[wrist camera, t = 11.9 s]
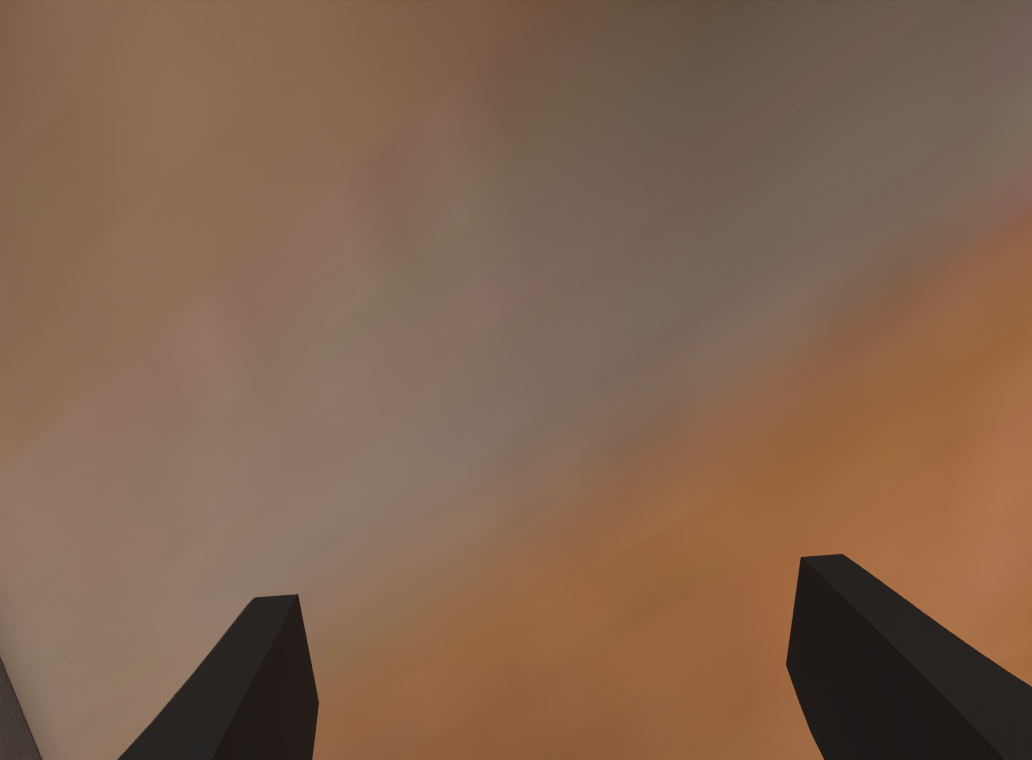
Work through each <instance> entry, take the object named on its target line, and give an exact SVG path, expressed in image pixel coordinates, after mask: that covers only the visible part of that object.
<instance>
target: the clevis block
mask: <svg viewBox="0 0 1032 760" xmlns="http://www.w3.org/2000/svg"><path fill="white" fill-rule="evenodd" d="M0 760H41V757H40V755H39V753H38V750H37V748H36V745H35V743H34V740H33V738H32V735H31V733H30V731H29V728H28V726H27V723H26V721H25V718H24V716H23V713H22V711H21V708H20V706H19V704H18V701H17V699H16V696H15V694H14V691H13V689H12V686H11V684H10V681H9V679H8V677H7V674H6V672H5V669H4V667H3V664H2V662H1V659H0Z"/></svg>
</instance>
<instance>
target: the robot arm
mask: <svg viewBox="0 0 1032 760" xmlns="http://www.w3.org/2000/svg"><path fill="white" fill-rule="evenodd" d="M786 666H787V669H788V672H789V675H790V677H791V680H792V683H793V686H794V689H795V692H796V694H797V697H798V700H799V703H800V705H801V708H802V711H803V713H804V716H805V718H806V721H807V724H808V726H809V729H810V732H811V734H812V736H813V738H814V740H815V742H816V744H817V746H818V748H819V750H820V752H821V754H822V756H823V758H824V760H1032V687H1031V686H1030V685H1028V684H1027V683H1025V682H1024V681H1022V680H1020V679H1019V678H1017V677H1016V676H1014V675H1013V674H1011V673H1009V672H1008V671H1006V670H1005V669H1003V668H1002V667H1001V666H999V665H998V664H996V663H995V662H993V661H992V660H990V659H989V658H987V657H986V656H984V655H983V654H981V653H980V652H978V651H977V650H975V649H974V648H973V647H971V646H970V645H968V644H967V643H965V642H964V641H963V640H961V639H960V638H958V637H957V636H955V635H954V634H953V633H951V632H950V631H948V630H947V629H946V628H944V627H943V626H941V625H940V624H939V623H937V622H936V621H935V620H933V619H932V618H930V617H929V616H928V615H926V614H925V613H923V612H922V611H921V610H919V609H918V608H917V607H915V606H914V605H913V604H911V603H910V602H908V601H907V600H906V599H904V598H903V597H902V596H900V595H899V594H898V593H896V592H895V591H893V590H892V589H891V588H889V587H888V586H887V585H885V584H884V583H883V582H881V581H880V580H879V579H877V578H876V577H874V576H873V575H872V574H870V573H869V572H868V571H866V570H865V569H863V568H862V567H861V566H859V565H858V564H856V563H855V562H853V561H852V560H851V559H849V558H848V557H846V556H845V555H843V554H835V555H822V556H808V557H801V560H800V567H799V575H798V582H797V589H796V596H795V604H794V611H793V618H792V625H791V633H790V640H789V647H788V654H787V662H786ZM318 706H319V700H318V695H317V690H316V685H315V680H314V674H313V669H312V664H311V659H310V654H309V648H308V643H307V638H306V633H305V628H304V622H303V617H302V612H301V607H300V602H299V596H298V594H296V595H282V596H269V597H255V598H254V599H253V600H252V601H251V602H250V603H249V604H248V605H247V606H246V607H245V609H244V610H243V611H242V612H241V614H240V615H239V616H238V617H237V619H236V620H235V621H234V623H233V624H232V625H231V626H230V628H229V629H228V630H227V631H226V633H225V634H224V635H223V637H222V638H221V639H220V640H219V642H218V643H217V644H216V645H215V647H214V648H213V649H212V650H211V652H210V653H209V654H208V655H207V657H206V658H205V659H204V660H203V662H202V663H201V664H200V665H199V667H198V668H197V669H196V670H195V672H194V673H193V674H192V675H191V676H190V678H189V679H188V680H187V681H186V682H185V683H184V685H183V686H182V687H181V688H180V689H179V691H178V692H177V693H176V694H175V695H174V697H173V698H172V699H171V700H170V701H169V702H168V704H167V705H166V706H165V707H164V708H163V710H162V711H161V712H160V713H159V714H158V715H157V717H156V718H155V719H154V720H153V721H152V722H151V723H150V725H149V726H148V727H147V728H146V729H145V730H144V731H143V732H142V733H141V735H140V736H139V737H138V738H137V739H136V740H135V741H134V742H133V743H132V744H131V745H130V746H129V748H128V749H127V750H126V751H125V752H124V753H123V754H122V755H121V756H120V757H119V758H118V760H312V756H313V749H314V741H315V732H316V723H317V714H318Z"/></svg>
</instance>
